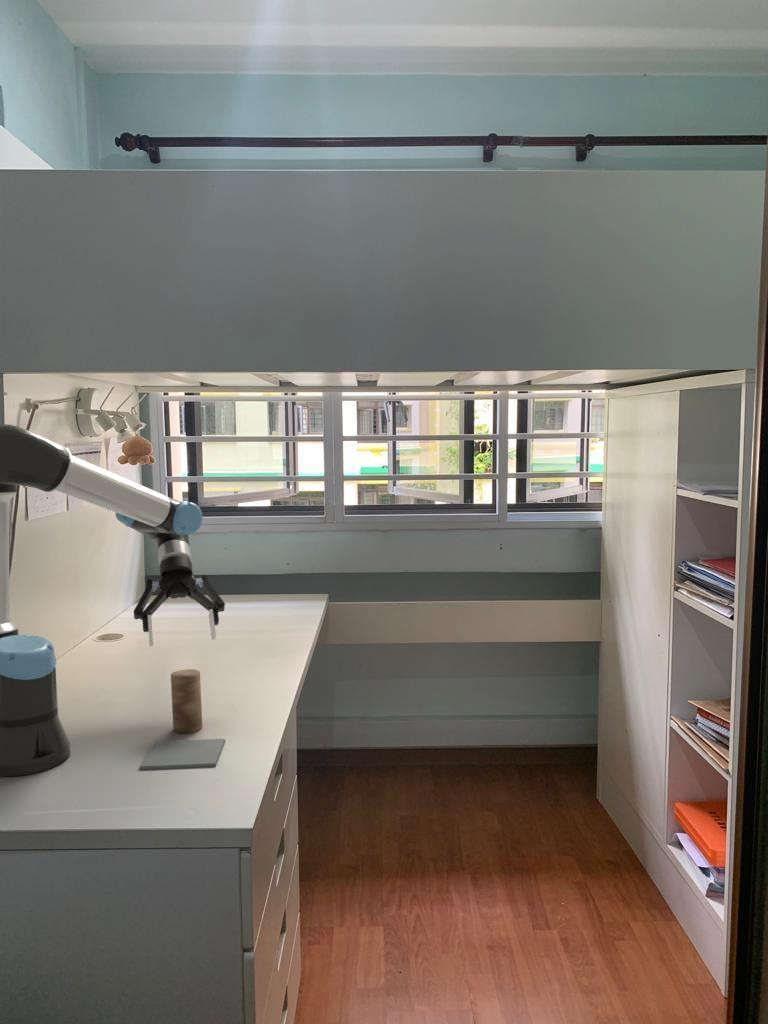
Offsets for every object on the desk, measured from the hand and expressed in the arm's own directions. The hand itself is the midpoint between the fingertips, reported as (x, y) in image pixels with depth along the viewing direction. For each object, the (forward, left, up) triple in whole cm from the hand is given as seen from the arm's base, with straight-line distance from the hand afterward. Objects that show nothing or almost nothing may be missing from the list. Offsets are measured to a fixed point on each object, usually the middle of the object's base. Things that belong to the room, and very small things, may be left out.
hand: (182, 639), depth 171 cm
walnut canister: (+2, -11, -17) cm, 20 cm away
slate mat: (+4, -25, -16) cm, 30 cm away
